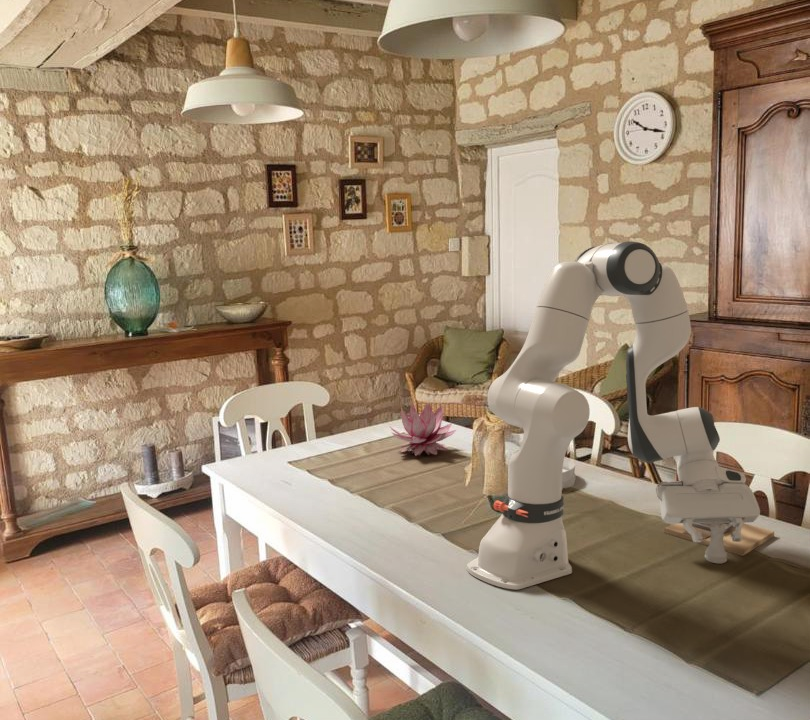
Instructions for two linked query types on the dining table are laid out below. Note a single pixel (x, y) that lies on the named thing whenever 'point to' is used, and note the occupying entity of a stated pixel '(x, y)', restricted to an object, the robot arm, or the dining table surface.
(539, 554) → the robot arm
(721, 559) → the rook chess piece
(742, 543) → the oak board
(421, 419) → the decorative flower
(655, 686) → the dining table surface
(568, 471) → the dish
